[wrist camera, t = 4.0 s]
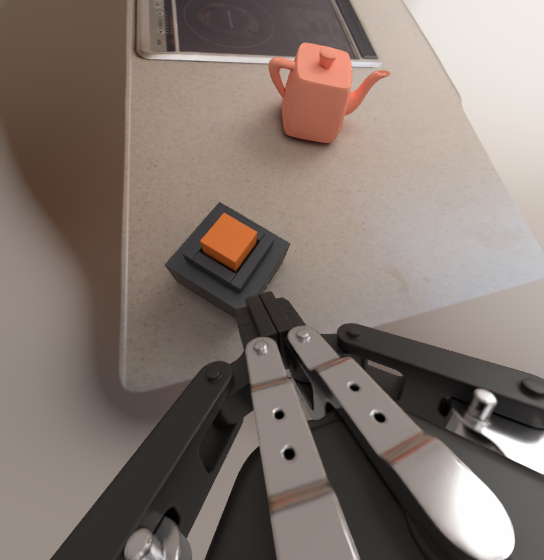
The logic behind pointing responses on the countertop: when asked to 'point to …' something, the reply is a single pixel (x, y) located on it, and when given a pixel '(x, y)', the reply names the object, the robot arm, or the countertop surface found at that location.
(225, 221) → the key
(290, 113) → the teapot
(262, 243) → the push button box
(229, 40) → the countertop surface
